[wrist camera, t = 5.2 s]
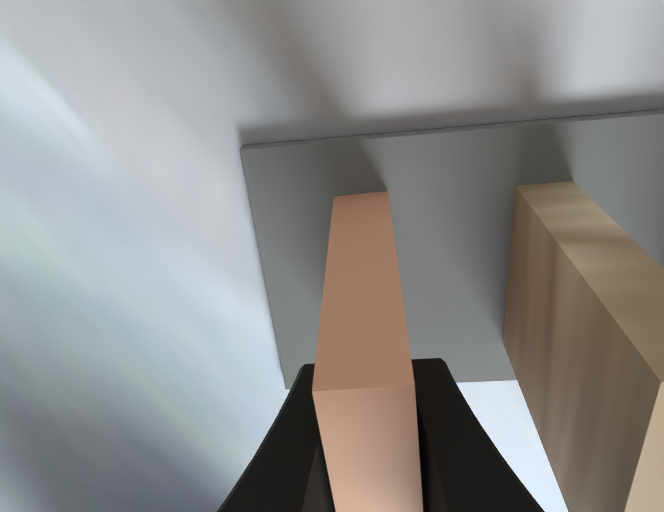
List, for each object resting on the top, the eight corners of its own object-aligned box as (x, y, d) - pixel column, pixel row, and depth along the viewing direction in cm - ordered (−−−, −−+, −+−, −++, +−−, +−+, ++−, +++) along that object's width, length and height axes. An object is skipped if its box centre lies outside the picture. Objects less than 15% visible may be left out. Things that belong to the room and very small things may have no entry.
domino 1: (354, 347, 15) (351, 592, 9) (333, 196, 13) (311, 391, 7) (400, 344, 15) (428, 590, 9) (387, 190, 13) (414, 384, 7)
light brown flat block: (503, 343, 15) (600, 594, 9) (515, 185, 13) (660, 381, 7) (551, 340, 15) (684, 594, 9) (573, 181, 12) (776, 377, 6)
